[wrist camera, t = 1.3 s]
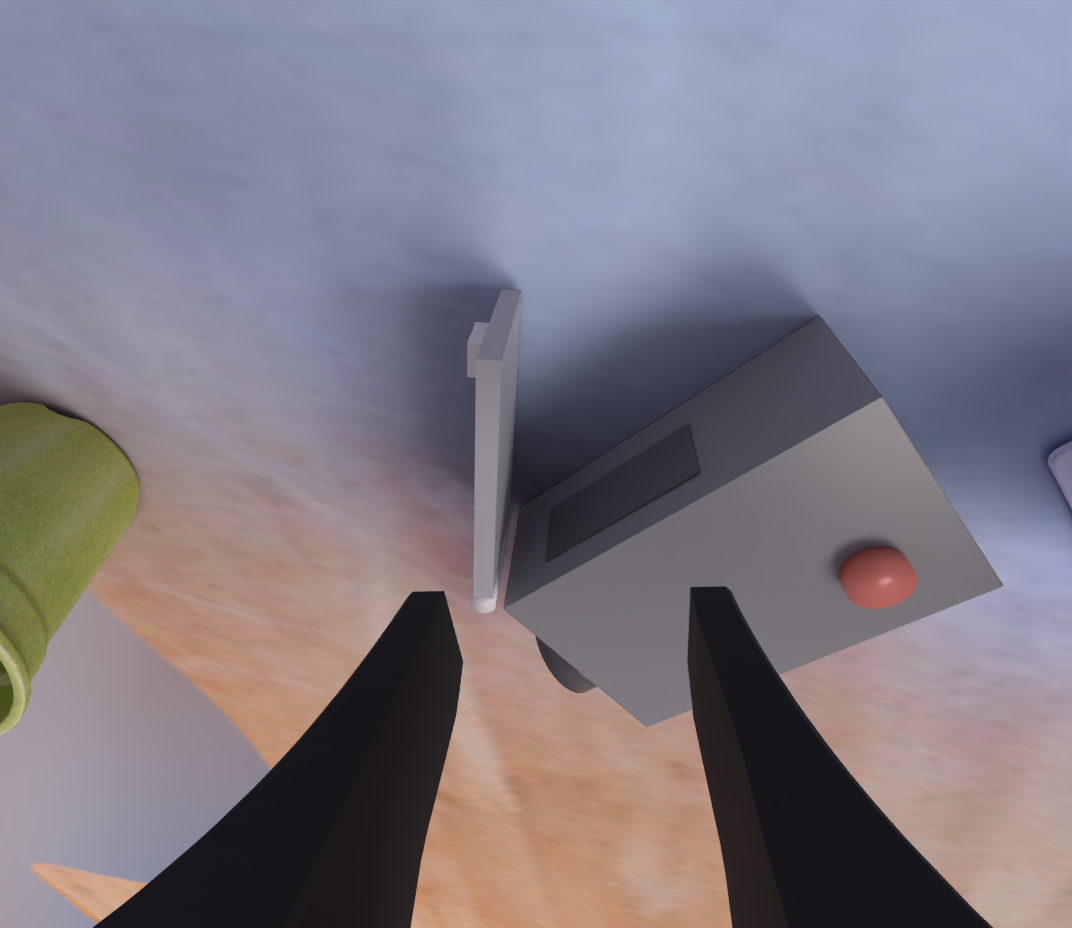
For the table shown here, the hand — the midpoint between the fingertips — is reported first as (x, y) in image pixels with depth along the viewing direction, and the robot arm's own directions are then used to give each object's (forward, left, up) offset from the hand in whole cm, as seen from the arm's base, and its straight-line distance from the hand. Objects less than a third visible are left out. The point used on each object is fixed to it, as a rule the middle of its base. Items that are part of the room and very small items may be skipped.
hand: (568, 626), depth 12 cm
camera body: (-1, +7, -10) cm, 12 cm away
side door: (+3, -1, -10) cm, 11 cm away
